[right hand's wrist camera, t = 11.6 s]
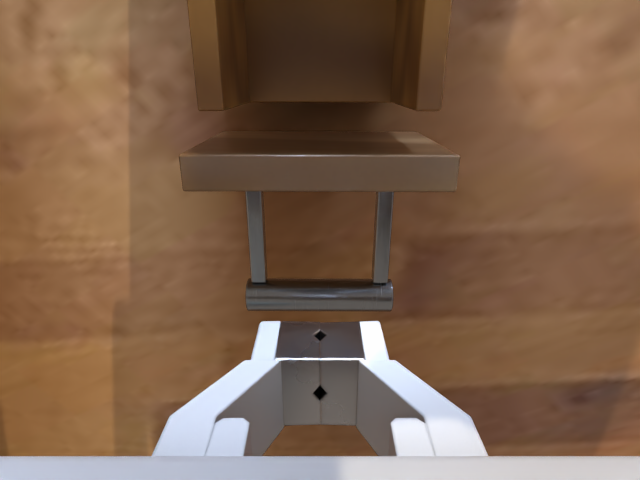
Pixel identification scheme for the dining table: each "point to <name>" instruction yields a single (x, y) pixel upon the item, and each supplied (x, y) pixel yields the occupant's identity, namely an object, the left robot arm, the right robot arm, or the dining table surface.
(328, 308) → the drawer
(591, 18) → the dining table surface
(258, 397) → the right robot arm
